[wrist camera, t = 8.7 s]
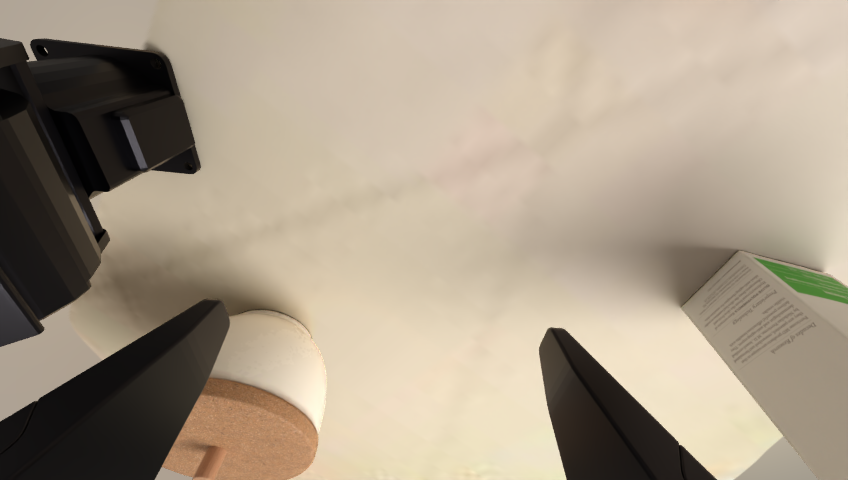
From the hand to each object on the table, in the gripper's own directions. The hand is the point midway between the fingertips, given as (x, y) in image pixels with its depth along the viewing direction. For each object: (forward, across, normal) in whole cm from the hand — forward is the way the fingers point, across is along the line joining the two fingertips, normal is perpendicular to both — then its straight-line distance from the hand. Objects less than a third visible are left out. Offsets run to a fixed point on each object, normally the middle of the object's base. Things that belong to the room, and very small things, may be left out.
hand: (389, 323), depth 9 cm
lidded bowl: (+13, +11, +18) cm, 25 cm away
